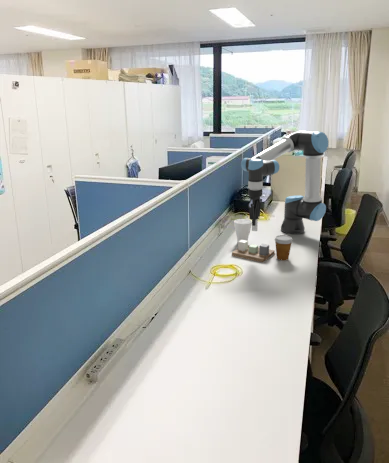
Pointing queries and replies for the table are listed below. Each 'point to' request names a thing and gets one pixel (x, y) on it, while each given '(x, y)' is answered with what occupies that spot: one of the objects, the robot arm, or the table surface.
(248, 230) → the cup
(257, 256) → the button board
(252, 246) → the pale green block
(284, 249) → the disposable coffee cup
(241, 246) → the white block
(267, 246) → the gray button
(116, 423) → the table surface
